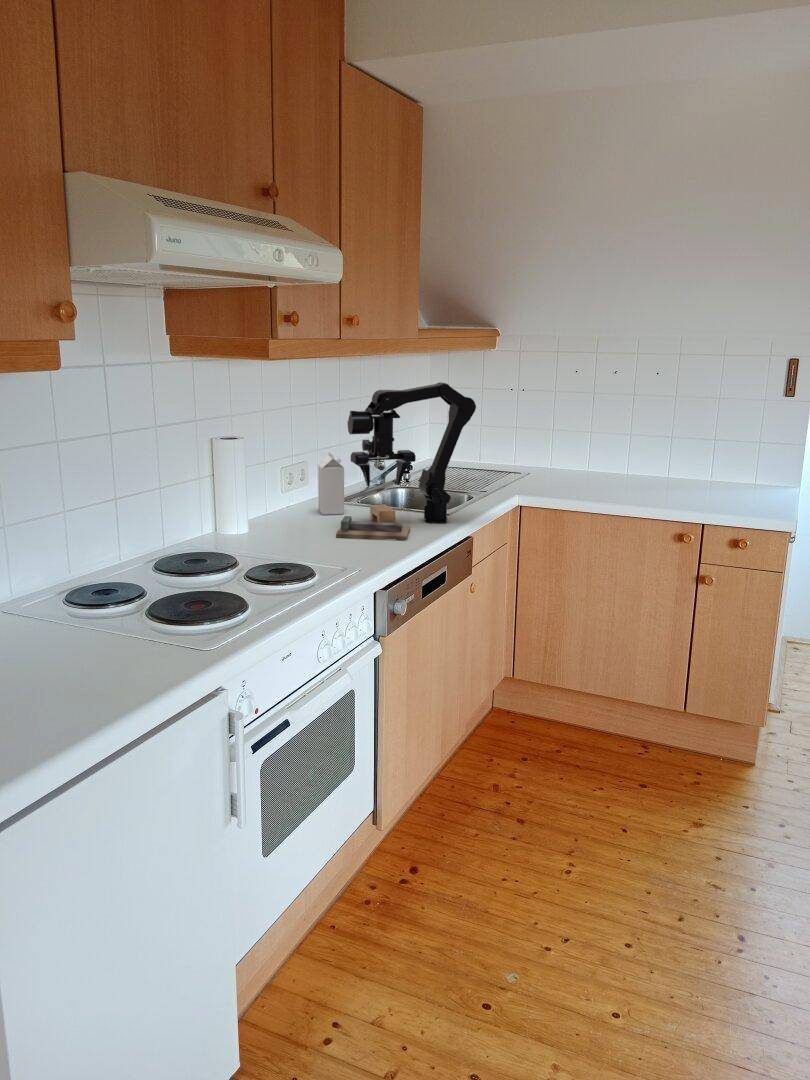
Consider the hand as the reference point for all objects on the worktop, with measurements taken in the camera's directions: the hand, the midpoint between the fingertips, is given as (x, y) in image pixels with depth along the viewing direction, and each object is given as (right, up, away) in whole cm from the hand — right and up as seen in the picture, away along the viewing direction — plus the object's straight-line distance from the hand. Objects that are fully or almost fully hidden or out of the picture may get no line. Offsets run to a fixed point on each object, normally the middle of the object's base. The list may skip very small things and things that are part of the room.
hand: (382, 485), depth 251 cm
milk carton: (-17, -8, +17) cm, 25 cm away
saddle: (0, -11, +3) cm, 12 cm away
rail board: (-2, -15, -10) cm, 18 cm away
